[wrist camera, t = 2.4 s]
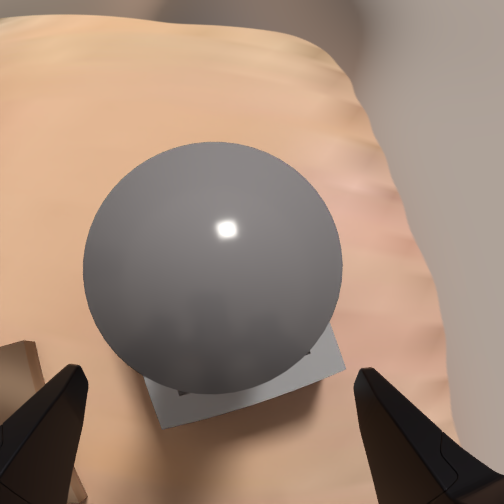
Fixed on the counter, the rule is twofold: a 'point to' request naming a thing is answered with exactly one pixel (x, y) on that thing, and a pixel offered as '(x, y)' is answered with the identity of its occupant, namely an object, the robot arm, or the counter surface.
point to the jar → (212, 268)
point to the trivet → (26, 391)
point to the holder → (209, 405)
